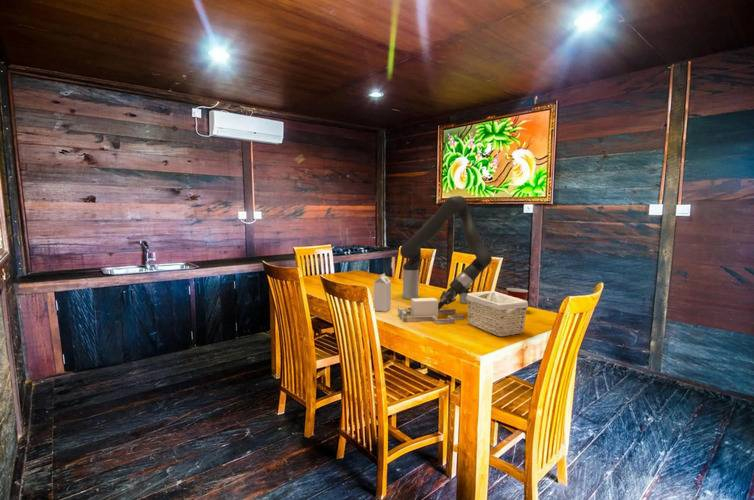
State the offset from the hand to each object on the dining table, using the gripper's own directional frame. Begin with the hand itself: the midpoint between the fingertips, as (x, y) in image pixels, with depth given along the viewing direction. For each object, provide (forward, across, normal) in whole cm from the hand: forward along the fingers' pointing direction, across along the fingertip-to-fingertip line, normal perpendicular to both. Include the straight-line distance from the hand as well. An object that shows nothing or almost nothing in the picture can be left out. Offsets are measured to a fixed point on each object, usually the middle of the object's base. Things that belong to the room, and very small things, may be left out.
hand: (437, 308), depth 193 cm
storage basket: (-11, +22, +17) cm, 30 cm away
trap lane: (+5, 0, +1) cm, 5 cm away
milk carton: (+20, -17, -14) cm, 30 cm away
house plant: (-16, -25, +22) cm, 37 cm away
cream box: (+8, 0, -2) cm, 8 cm away
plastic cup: (-28, -3, +35) cm, 45 cm away
